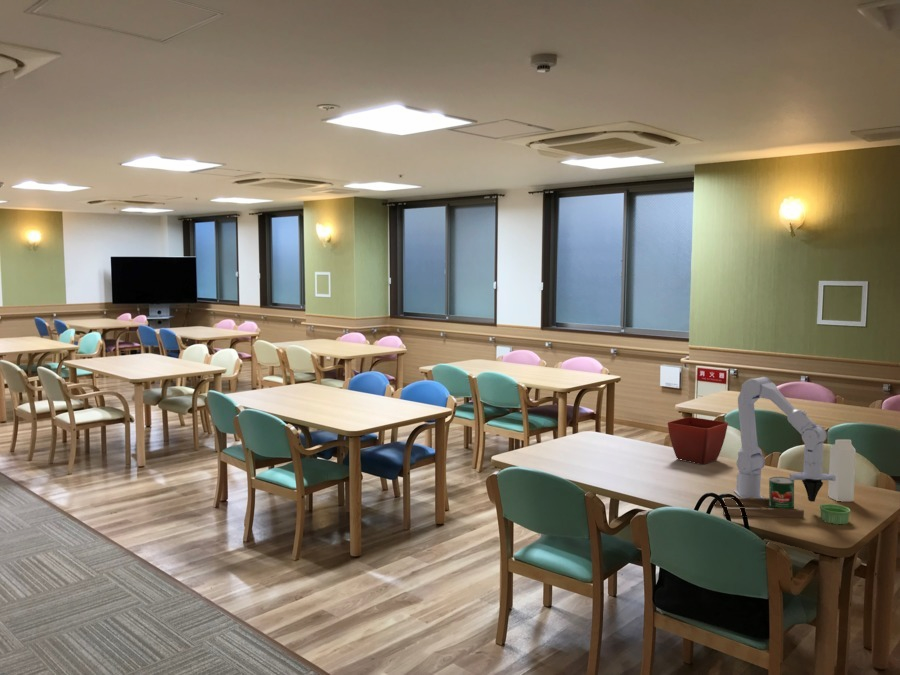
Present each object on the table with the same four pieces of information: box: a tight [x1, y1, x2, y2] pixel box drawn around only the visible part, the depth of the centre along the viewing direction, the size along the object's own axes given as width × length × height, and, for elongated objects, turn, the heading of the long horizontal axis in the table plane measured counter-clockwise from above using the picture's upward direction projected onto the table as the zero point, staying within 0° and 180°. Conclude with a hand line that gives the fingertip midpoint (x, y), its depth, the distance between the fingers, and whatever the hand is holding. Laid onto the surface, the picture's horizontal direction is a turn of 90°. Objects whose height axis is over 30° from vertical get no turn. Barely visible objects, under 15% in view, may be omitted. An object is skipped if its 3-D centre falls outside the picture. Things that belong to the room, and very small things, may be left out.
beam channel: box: [714, 497, 805, 518], centre depth 249 cm, size 13×26×3 cm, turn 86°
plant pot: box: [667, 416, 729, 465], centre depth 316 cm, size 19×19×17 cm
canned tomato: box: [768, 476, 795, 509], centre depth 247 cm, size 8×8×11 cm
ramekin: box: [819, 503, 851, 525], centre depth 239 cm, size 9×9×4 cm
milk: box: [827, 438, 857, 502], centre depth 261 cm, size 6×6×22 cm
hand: (811, 500), depth 247 cm, fingers closed
